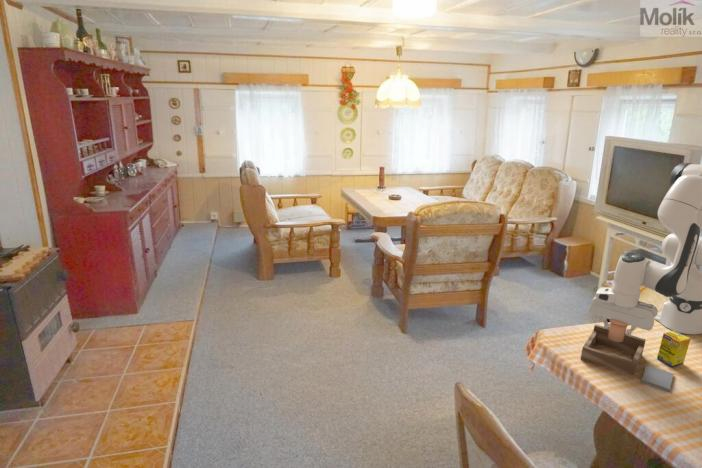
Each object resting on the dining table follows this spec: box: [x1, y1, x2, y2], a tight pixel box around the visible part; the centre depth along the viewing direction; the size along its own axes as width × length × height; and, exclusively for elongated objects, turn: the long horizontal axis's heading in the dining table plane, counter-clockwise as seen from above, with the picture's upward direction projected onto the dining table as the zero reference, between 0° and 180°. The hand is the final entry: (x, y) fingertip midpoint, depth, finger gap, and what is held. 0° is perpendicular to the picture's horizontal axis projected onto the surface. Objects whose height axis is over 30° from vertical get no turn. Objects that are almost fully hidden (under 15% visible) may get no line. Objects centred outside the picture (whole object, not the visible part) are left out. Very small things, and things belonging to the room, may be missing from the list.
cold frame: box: [580, 323, 646, 378], centre depth 167 cm, size 17×17×7 cm
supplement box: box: [656, 330, 691, 368], centre depth 164 cm, size 6×6×11 cm
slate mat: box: [640, 364, 675, 393], centre depth 156 cm, size 11×8×1 cm
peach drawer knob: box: [608, 319, 629, 342], centre depth 164 cm, size 6×6×8 cm
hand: (617, 331), depth 165 cm, fingers closed on peach drawer knob, 6 cm apart
